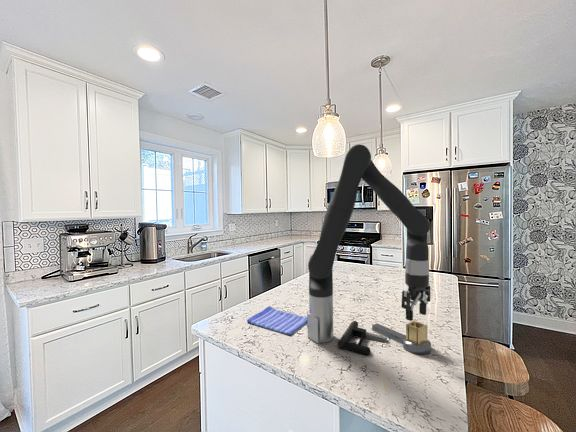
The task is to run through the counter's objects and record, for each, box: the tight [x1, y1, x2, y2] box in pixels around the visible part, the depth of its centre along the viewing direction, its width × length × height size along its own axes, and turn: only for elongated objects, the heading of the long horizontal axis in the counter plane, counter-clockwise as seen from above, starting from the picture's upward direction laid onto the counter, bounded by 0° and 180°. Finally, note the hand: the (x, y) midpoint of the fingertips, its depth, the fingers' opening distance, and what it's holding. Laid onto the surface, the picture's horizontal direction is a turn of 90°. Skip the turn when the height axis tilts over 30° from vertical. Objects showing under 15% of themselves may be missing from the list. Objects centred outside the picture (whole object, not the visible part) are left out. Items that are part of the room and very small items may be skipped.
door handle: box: [336, 320, 388, 356], centre depth 100 cm, size 3×20×16 cm
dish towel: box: [246, 305, 307, 336], centre depth 119 cm, size 17×24×3 cm
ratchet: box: [371, 323, 432, 356], centre depth 100 cm, size 9×22×7 cm, turn 34°
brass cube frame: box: [405, 320, 429, 346], centre depth 94 cm, size 5×5×6 cm
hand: (416, 317), depth 94 cm, fingers open, 8 cm apart
